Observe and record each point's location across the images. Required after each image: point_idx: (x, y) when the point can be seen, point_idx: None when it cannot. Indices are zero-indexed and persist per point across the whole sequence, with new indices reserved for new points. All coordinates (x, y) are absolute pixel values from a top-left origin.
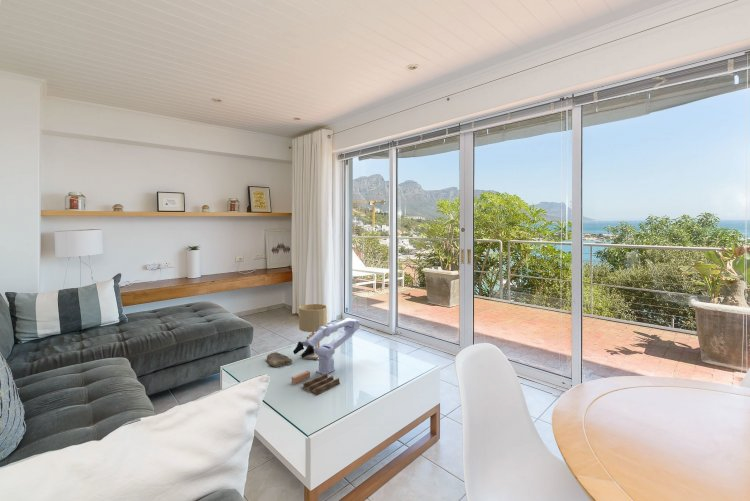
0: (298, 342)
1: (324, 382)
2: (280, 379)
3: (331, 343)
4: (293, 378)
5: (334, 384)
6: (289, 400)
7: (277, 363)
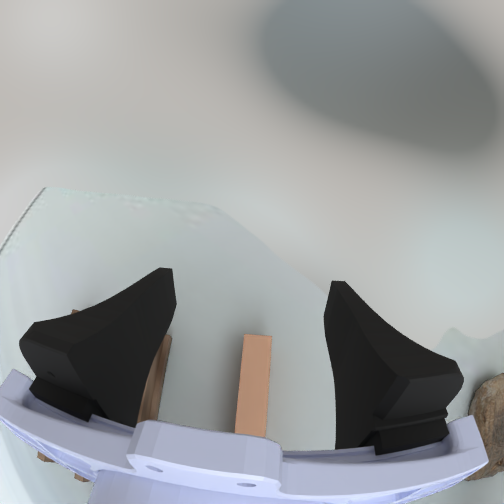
0: (445, 362)
1: None
2: None
3: None
4: (251, 335)
5: None
6: (157, 241)
7: (484, 397)
